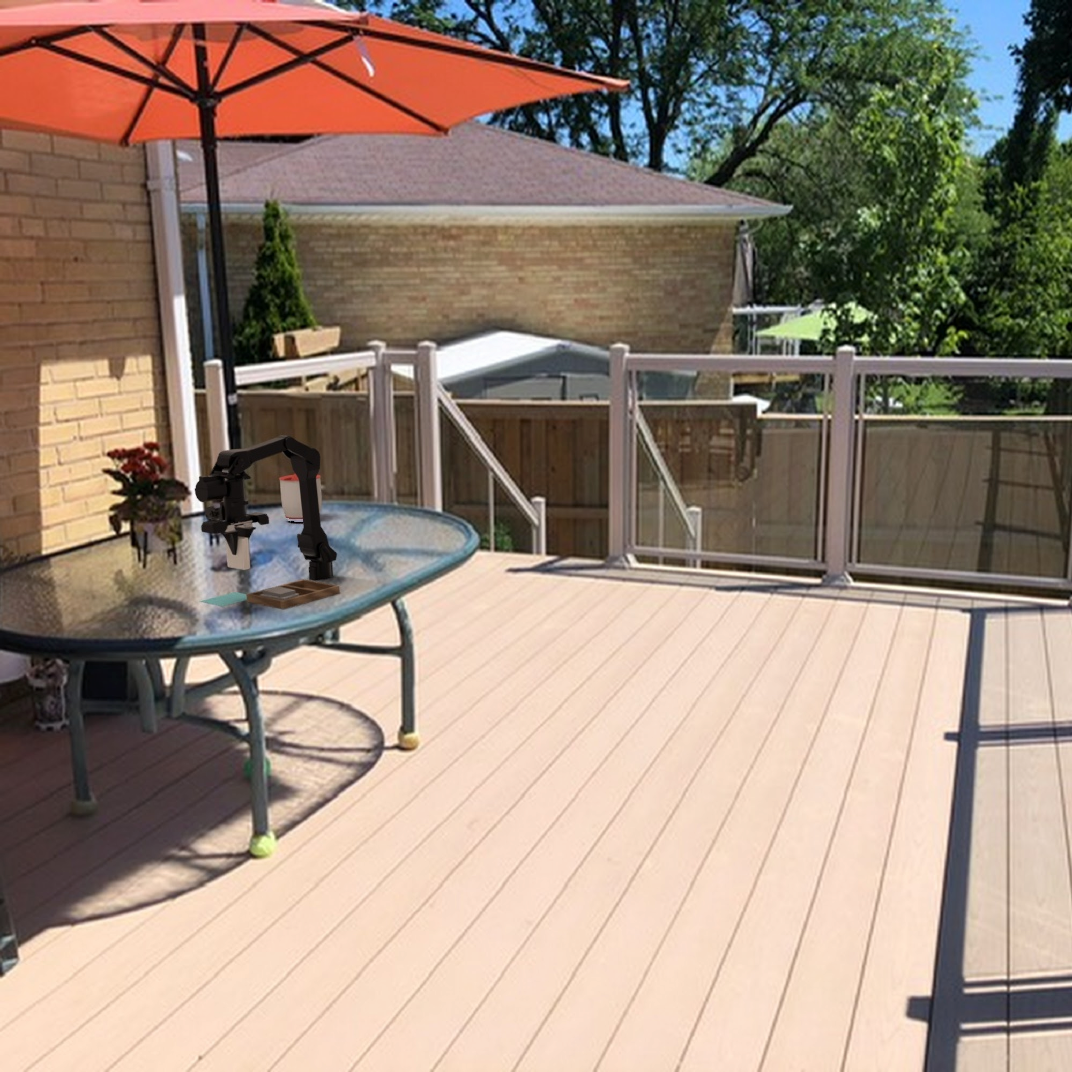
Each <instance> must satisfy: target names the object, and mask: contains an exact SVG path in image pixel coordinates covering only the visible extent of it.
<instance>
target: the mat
mask: <svg viewBox="0 0 1072 1072" xmlns="http://www.w3.org/2000/svg"><path fill="white" fill-rule="evenodd" d="M244 601H245V602H246V601H247V596H246V593H242V592H237V591H235V592H234V591H233V592H229V593H226V594H223V595H222V594H221V595H218V596H215V597H211V598H207V599H204V600H199V602H200V603H204V604H209V605H214V606H218V607H225V606H226V607H227V606H230V605H233V604H237V603H240V602H244Z"/></svg>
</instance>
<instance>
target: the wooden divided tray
mask: <svg viewBox="0 0 1072 1072" xmlns="http://www.w3.org/2000/svg"><path fill="white" fill-rule="evenodd" d="M278 586H279V587H283V588H287V589H292V590H295V593H296V594H299V596H297V597H294V598H290V599H287V600H279V599H274V598H269V597H264V596H260V595H261V594H263V593H262V590H263V589H261V590H257V591H254V592H250V593H247V594H246V593H245V594H246V596H247V600H246V602H248V603H252V604H256V605H262V606H266V607H271V608H275V609H280V610H285V609H289V608H292V607H295V606H296V607H298V606H300V605H303V604H306V603H310V602H313V601H317V600H320V599H323V598H328V597H331V596H335V595H339V594H340V593H341V592H340V590H341V589H340V585H337V584H330V583H325V582H320V581H314V580H308V579H299V580H295V581H292V582H287V583H284V584H280V585H278Z"/></svg>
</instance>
